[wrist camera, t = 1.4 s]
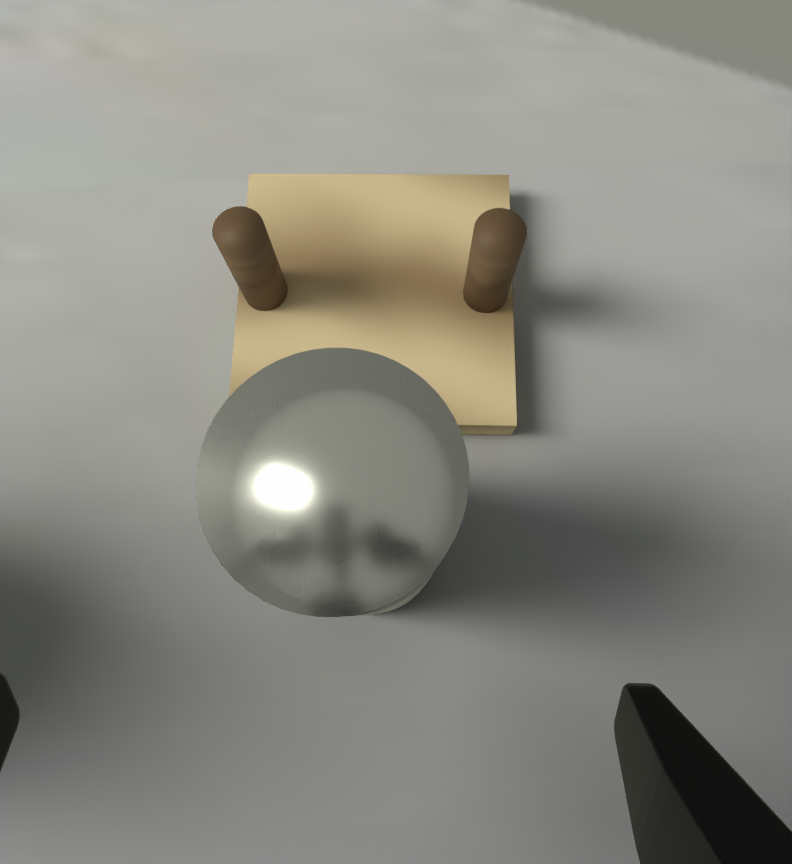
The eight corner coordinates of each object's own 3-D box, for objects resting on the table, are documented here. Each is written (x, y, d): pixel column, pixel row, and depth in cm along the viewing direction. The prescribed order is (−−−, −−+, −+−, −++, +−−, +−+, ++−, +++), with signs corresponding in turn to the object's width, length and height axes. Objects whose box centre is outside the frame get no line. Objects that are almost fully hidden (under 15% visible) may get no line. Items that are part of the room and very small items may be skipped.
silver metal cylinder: (463, 565, 22) (524, 514, 11) (349, 641, 22) (283, 675, 10) (390, 455, 23) (374, 302, 12) (280, 525, 23) (148, 436, 11)
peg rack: (511, 434, 23) (539, 386, 18) (235, 431, 24) (188, 382, 19) (504, 194, 26) (527, 95, 21) (256, 192, 26) (220, 94, 21)
